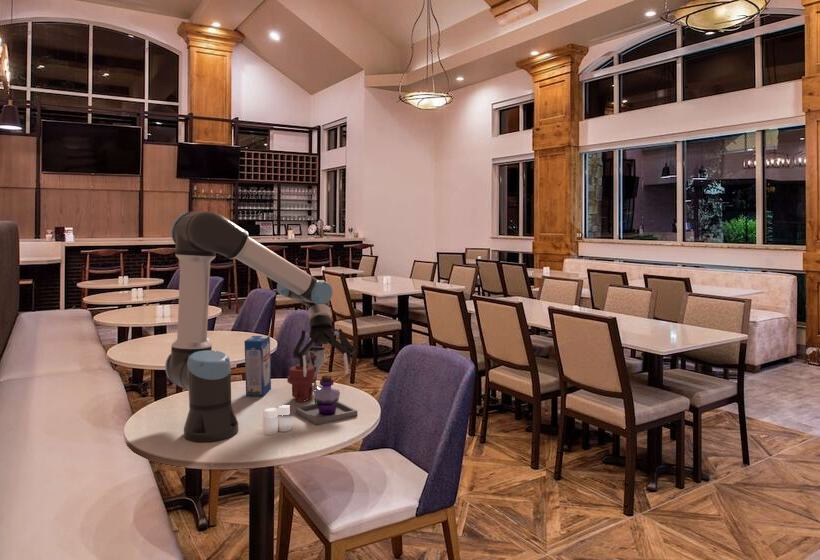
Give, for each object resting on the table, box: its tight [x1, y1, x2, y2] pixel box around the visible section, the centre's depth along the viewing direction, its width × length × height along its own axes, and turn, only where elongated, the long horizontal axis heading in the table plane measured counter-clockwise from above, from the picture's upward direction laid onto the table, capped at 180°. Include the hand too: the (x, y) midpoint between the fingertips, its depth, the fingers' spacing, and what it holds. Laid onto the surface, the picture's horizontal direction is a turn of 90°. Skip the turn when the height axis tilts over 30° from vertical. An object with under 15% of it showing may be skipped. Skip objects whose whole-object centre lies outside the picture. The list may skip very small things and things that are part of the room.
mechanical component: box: [286, 363, 318, 403], centre depth 205 cm, size 12×10×10 cm
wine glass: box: [305, 345, 326, 390], centre depth 219 cm, size 8×8×15 cm
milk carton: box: [244, 335, 272, 398], centre depth 213 cm, size 10×6×20 cm, turn 178°
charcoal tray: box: [294, 400, 358, 426], centre depth 190 cm, size 15×15×2 cm
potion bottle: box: [313, 375, 341, 416], centre depth 189 cm, size 9×9×12 cm
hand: (326, 373), depth 192 cm, fingers open, 13 cm apart
